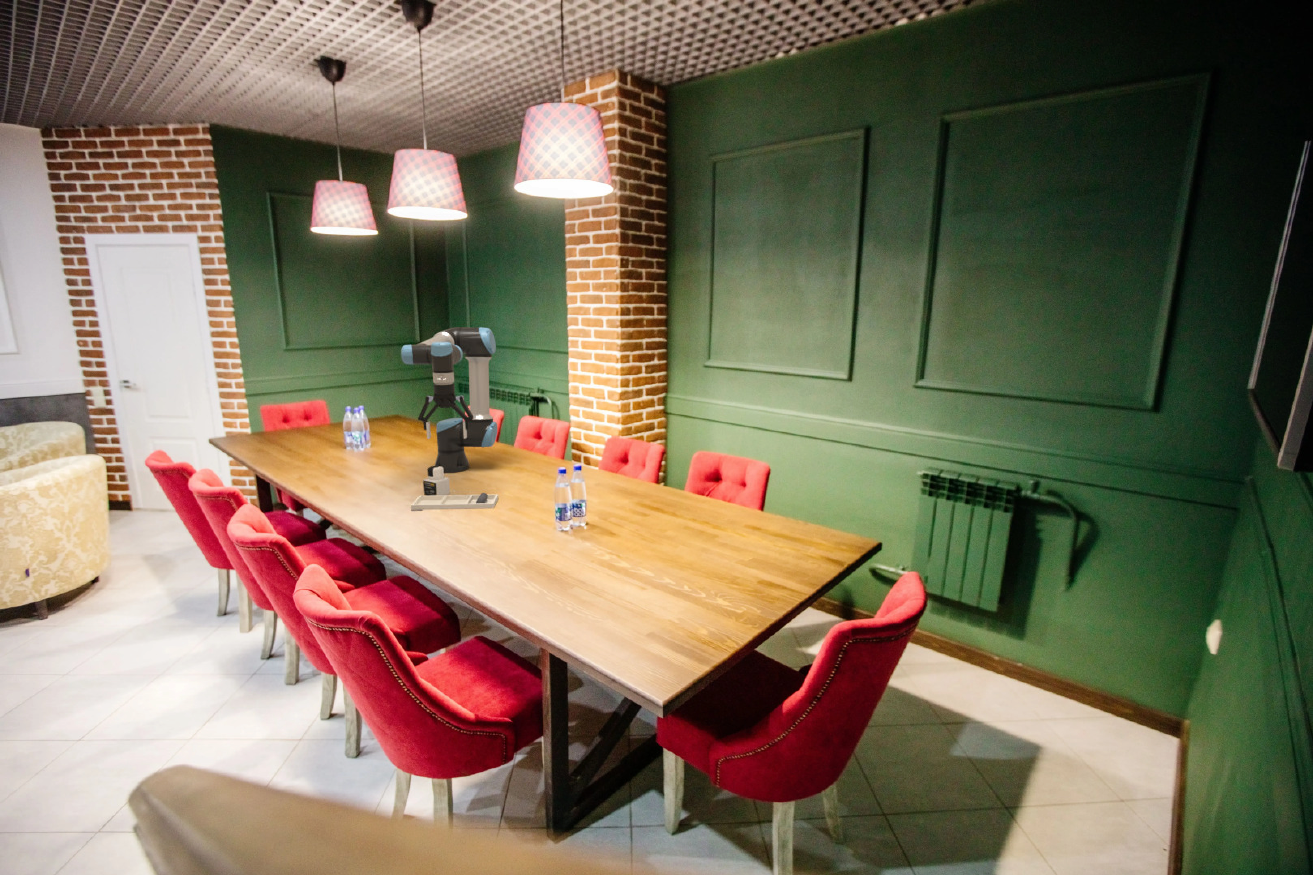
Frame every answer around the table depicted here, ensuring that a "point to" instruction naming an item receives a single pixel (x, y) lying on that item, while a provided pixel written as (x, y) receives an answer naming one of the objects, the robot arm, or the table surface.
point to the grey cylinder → (482, 498)
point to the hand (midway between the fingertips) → (447, 438)
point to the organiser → (452, 502)
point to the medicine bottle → (436, 482)
